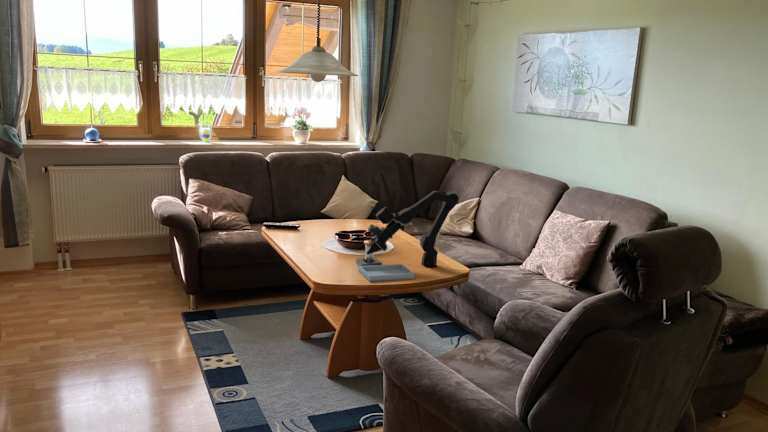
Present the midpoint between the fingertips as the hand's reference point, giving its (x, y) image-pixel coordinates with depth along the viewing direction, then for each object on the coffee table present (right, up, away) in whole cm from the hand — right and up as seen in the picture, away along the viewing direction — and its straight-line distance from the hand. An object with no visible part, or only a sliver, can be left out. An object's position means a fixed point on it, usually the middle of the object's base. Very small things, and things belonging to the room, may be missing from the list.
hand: (366, 252), depth 304 cm
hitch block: (+1, -7, +2) cm, 7 cm away
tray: (+10, -10, -13) cm, 19 cm away
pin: (+1, -6, +2) cm, 7 cm away
